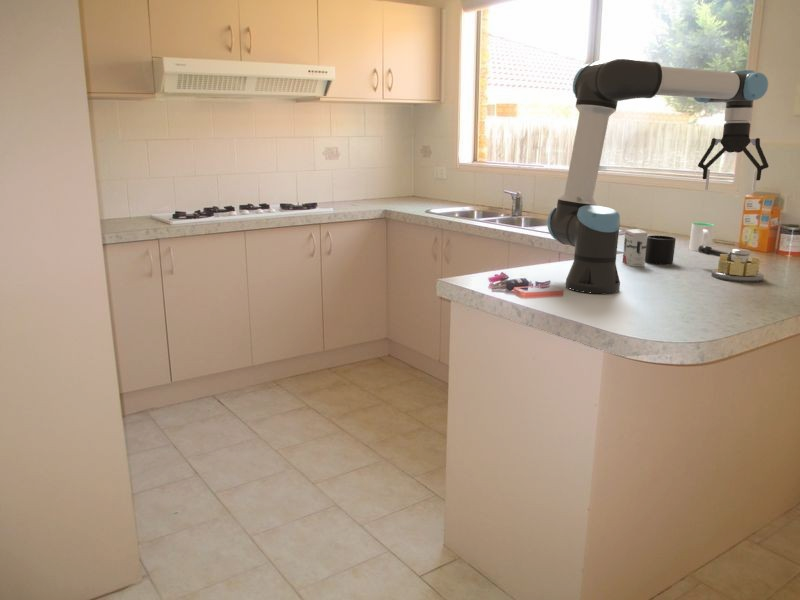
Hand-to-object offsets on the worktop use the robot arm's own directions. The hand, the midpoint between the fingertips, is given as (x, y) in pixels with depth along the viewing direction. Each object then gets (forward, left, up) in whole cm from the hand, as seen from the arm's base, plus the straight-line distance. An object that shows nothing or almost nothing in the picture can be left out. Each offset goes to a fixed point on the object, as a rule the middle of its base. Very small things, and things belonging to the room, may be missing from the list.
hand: (729, 190), depth 214 cm
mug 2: (+23, +40, -27) cm, 53 cm away
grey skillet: (0, -2, -25) cm, 25 cm away
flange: (0, -8, -27) cm, 28 cm away
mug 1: (-10, +21, -27) cm, 35 cm away
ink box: (-21, +18, -27) cm, 38 cm away
